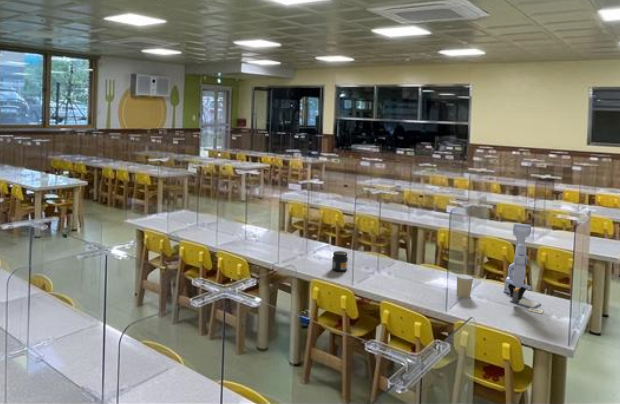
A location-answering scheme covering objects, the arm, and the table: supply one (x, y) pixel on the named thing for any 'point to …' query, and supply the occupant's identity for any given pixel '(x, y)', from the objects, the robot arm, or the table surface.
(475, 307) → the table surface
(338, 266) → the supplement container
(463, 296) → the coffee cup
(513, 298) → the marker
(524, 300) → the clipboard
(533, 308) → the word card
